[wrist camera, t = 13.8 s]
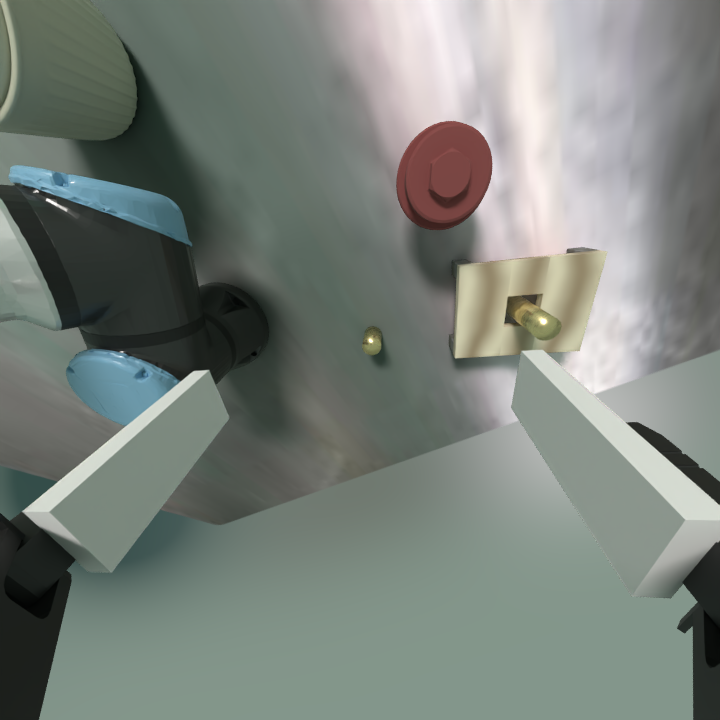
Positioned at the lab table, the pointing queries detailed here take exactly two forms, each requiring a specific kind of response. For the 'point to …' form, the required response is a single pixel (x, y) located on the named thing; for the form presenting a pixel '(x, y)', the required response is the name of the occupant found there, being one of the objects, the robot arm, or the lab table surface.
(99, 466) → the robot arm
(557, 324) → the long pin
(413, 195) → the mechanical component
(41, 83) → the canister
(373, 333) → the short pin
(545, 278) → the stand
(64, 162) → the lab table surface
